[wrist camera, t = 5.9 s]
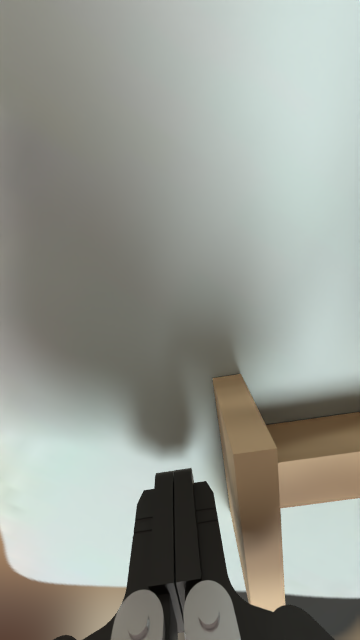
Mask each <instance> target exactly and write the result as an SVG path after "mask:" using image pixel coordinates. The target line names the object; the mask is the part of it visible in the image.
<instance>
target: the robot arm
mask: <svg viewBox="0 0 360 640" xmlns="http://www.w3.org/2000/svg"><path fill="white" fill-rule="evenodd" d="M180 632H185V640H334V639H333V638H332V637H331V636H330V635H329V634H328V633H327V632H326V631H325V630H324V629H323V628H322V627H321V626H320V625H319V624H318V623H317V622H316V621H315V620H314V619H313V618H312V617H311V616H310V615H309V614H308V613H307V612H305V611H304V610H302V609H301V608H299V607H296V606H293V605H283V606H280V607H279V608H277V609H276V610H275V611H274V612H272V611H269V610H266V609H263V608H260V607H257V606H254V605H251V604H249V603H247V602H246V601H244V600H243V599H242V598H241V597H240V596H239V595H238V594H237V593H236V591H235V590H234V588H233V587H232V585H231V583H230V580H229V578H228V574H227V569H226V563H225V558H224V552H223V546H222V540H221V534H220V529H219V523H218V517H217V511H216V506H215V500H214V494H213V492H212V490H211V488H210V487H209V485H208V484H207V482H206V481H204V482H197V483H194V480H193V474H192V469H191V468H188V469H181V470H174V471H168V472H162V473H156V475H155V488H154V489H151V490H144V491H143V493H142V495H141V498H140V500H139V502H138V504H137V510H136V518H135V526H134V535H133V542H132V550H131V558H130V566H129V574H128V582H127V589H126V594H125V597H124V599H123V602H122V604H121V606H120V608H119V610H118V611H117V613H116V614H115V616H114V617H113V618H112V619H111V621H109V622H108V623H107V624H106V625H105V626H104V627H102V628H101V629H99V630H98V631H96V632H94V633H93V634H91V635H89V636H88V637H86V638H85V639H83V640H178V633H180ZM54 640H76V639H75V638H74V637H72V636H69V635H64V636H60V637H57V638H56V639H54Z"/></svg>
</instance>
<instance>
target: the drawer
mask: <svg viewBox="0 0 360 640" xmlns="http://www.w3.org/2000/svg"><path fill="white" fill-rule="evenodd" d="M213 386H214V393H215V400H216V408H217V415H218V423H219V430H220V438H221V445H222V453H223V460H224V467H225V475H226V482H227V490H228V497H229V505H230V512H231V517H232V522H233V527H234V532H235V537H236V542H237V547H238V552H239V557H240V562H241V567H242V572H243V577H244V581H245V586H246V591H247V596H248V601H249V604H251V605H254V606H257V607H260V608H263V609H266V610H269V611H272V612H274V611H275V610H276V609H277V608H279V607H280V606H283V605H285V592H284V572H283V553H282V534H281V514H280V508H286V507H294V506H302V505H309V504H317V503H324V502H332V501H340V500H347V499H355V498H360V412H355V413H348V414H341V415H334V416H327V417H320V418H313V419H306V420H299V421H291V422H284V423H277V424H270V425H266V424H265V422H264V420H263V418H262V416H261V414H260V412H259V410H258V408H257V406H256V404H255V402H254V400H253V398H252V396H251V394H250V392H249V390H248V388H247V386H246V384H245V382H244V380H243V377H242V375H241V374H237V375H230V376H223V377H216V378H213Z"/></svg>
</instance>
